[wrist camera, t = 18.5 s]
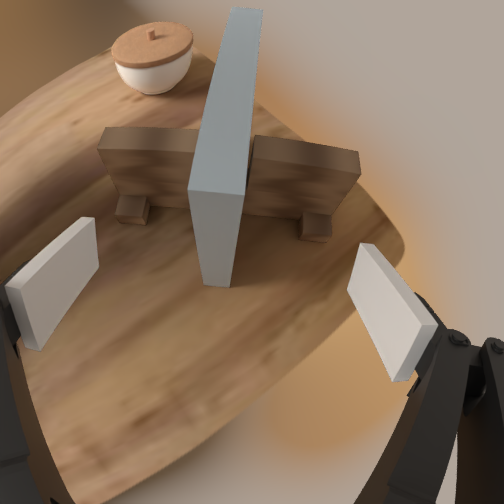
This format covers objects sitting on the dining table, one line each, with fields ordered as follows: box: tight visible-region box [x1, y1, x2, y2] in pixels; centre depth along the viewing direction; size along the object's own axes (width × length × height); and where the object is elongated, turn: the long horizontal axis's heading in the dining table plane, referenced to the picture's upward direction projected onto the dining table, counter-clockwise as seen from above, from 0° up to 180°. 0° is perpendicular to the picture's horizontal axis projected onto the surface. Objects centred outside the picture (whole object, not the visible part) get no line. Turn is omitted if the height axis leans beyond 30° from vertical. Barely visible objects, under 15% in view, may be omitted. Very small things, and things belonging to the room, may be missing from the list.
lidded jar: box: [112, 22, 193, 95], centre depth 35 cm, size 11×11×9 cm
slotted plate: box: [187, 7, 263, 288], centre depth 25 cm, size 18×2×18 cm, turn 176°
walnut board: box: [97, 127, 361, 243], centre depth 29 cm, size 22×7×10 cm, turn 86°
